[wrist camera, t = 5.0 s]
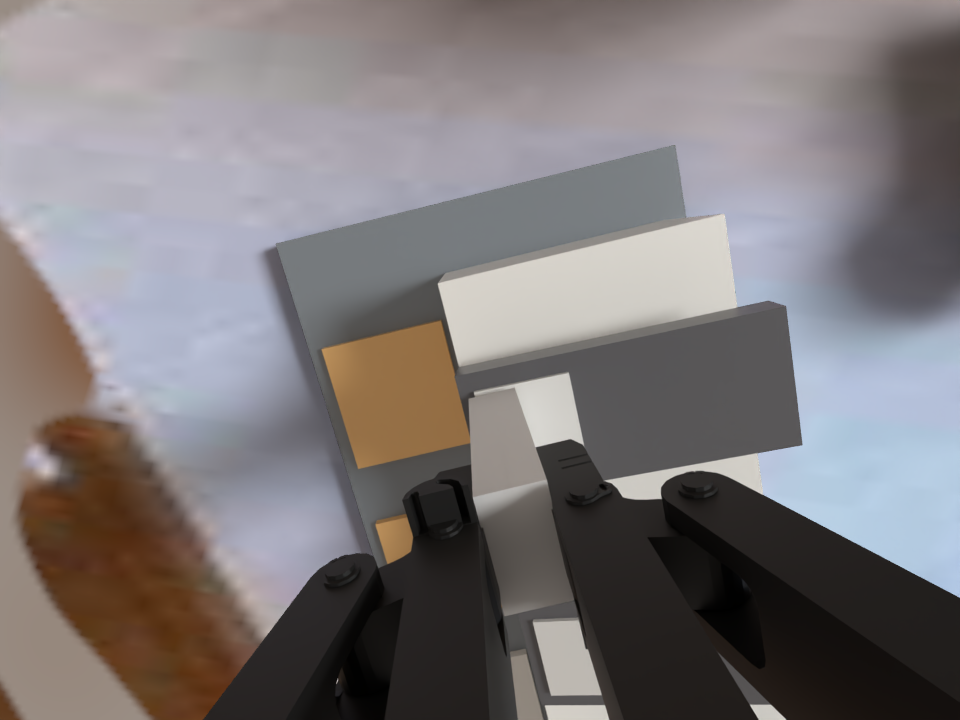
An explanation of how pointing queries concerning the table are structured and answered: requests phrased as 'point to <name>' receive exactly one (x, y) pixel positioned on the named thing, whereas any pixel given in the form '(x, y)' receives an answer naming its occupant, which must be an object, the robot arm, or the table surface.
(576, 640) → the middle rocker
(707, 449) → the block
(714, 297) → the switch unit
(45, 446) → the table surface
